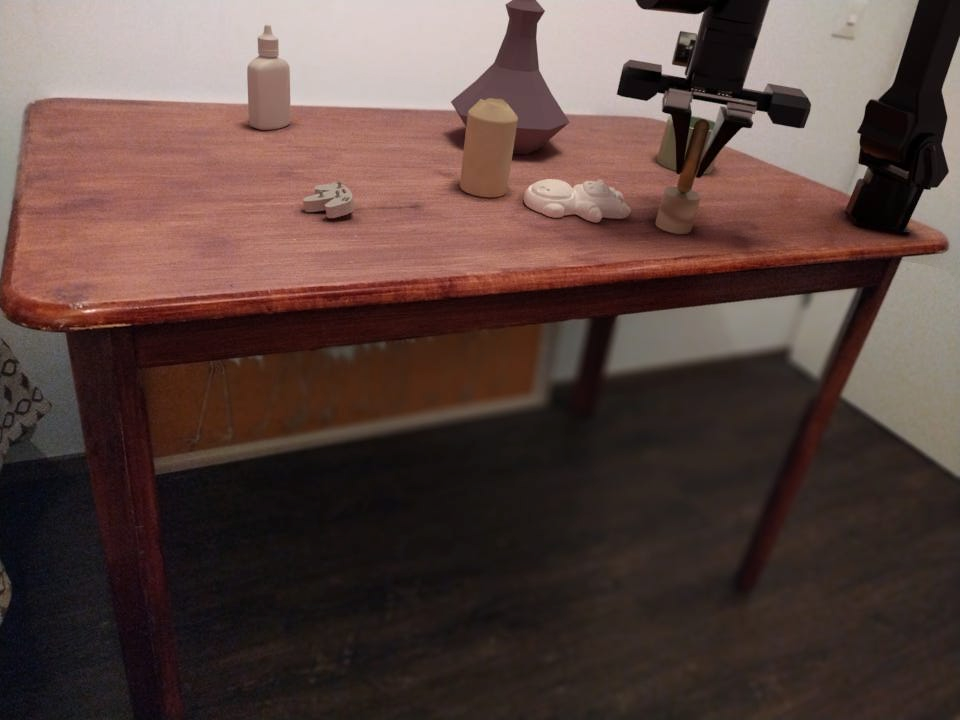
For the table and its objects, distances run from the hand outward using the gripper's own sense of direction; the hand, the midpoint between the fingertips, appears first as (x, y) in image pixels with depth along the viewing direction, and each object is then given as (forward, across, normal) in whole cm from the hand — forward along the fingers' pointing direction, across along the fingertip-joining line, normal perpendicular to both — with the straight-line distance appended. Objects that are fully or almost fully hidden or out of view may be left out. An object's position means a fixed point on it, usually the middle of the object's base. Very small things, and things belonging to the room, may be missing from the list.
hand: (687, 174), depth 80 cm
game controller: (+6, +32, +13) cm, 35 cm away
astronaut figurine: (+6, +11, 0) cm, 13 cm away
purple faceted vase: (+6, +23, -20) cm, 31 cm away
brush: (+6, 0, 0) cm, 6 cm away
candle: (+6, +22, 0) cm, 23 cm away
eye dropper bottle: (+6, +52, -8) cm, 53 cm away
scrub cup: (+6, -2, -26) cm, 27 cm away
